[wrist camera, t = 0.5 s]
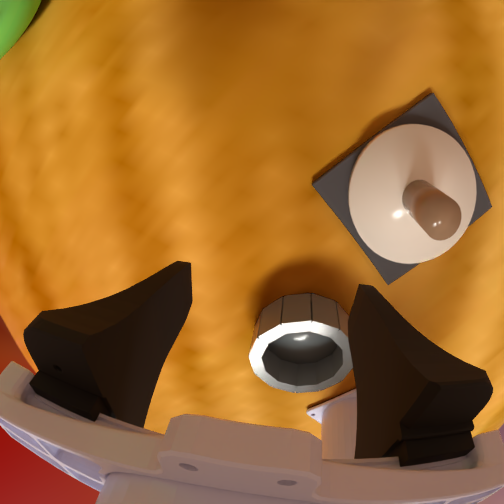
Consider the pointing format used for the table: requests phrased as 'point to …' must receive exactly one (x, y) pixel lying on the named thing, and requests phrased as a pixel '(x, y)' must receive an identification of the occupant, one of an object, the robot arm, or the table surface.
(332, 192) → the mat
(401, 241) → the lid
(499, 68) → the table surface
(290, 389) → the bowl
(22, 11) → the green teapot
